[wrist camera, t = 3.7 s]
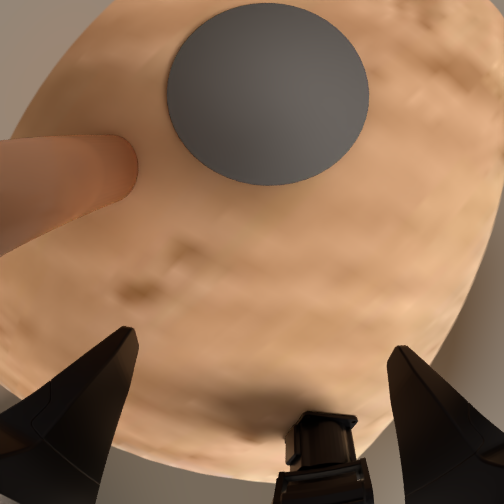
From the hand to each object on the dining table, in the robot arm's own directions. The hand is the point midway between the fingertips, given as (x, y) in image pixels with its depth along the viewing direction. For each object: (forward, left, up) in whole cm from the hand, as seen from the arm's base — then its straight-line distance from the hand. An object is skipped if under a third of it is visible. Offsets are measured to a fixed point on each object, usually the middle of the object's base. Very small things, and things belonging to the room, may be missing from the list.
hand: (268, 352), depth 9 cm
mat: (+3, -10, -12) cm, 16 cm away
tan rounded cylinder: (+13, -2, -12) cm, 18 cm away
